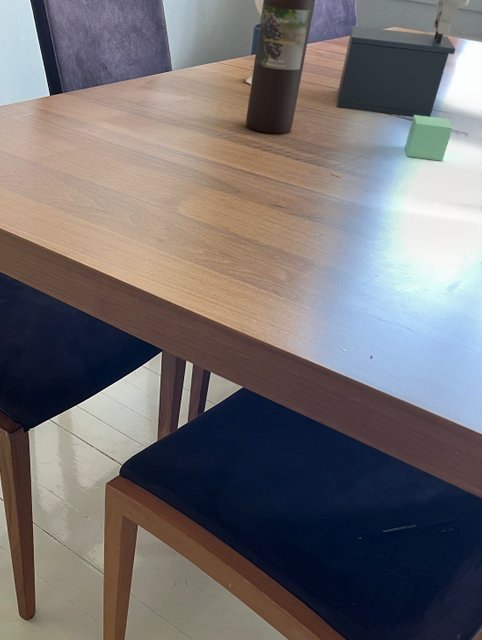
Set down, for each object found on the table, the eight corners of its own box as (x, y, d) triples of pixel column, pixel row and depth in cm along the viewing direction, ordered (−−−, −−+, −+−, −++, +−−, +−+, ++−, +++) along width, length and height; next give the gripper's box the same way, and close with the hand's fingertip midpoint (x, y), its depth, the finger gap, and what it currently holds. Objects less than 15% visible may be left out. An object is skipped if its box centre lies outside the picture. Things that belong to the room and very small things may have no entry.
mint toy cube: (439, 151, 108) (449, 119, 105) (442, 161, 104) (452, 127, 101) (404, 146, 109) (413, 114, 106) (406, 156, 105) (416, 123, 102)
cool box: (424, 102, 133) (441, 41, 127) (429, 118, 124) (448, 54, 118) (338, 91, 135) (351, 31, 129) (337, 106, 126) (351, 42, 120)
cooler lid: (446, 41, 127) (455, 9, 124) (453, 54, 117) (464, 20, 115) (351, 31, 129) (357, -1, 126) (351, 42, 120) (358, 8, 117)
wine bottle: (236, 126, 111) (271, -124, 93) (261, 119, 116) (299, -121, 97) (275, 137, 108) (319, -120, 89) (299, 129, 112) (346, -117, 94)
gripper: (500, -67, 104) (467, 43, 113) (480, -72, 120) (453, 24, 129) (455, -71, 105) (425, 38, 114) (441, -76, 121) (416, 20, 129)
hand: (440, 30), depth 121 cm, fingers closed on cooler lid, 5 cm apart
